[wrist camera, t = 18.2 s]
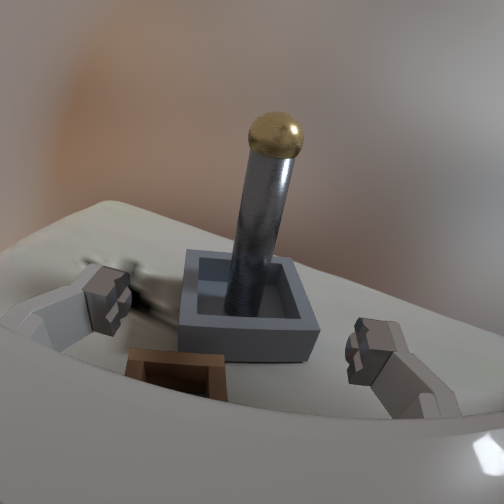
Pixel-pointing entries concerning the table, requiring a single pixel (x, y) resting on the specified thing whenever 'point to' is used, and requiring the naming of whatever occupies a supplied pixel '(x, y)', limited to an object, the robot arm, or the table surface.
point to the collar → (179, 371)
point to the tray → (244, 328)
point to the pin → (261, 209)
